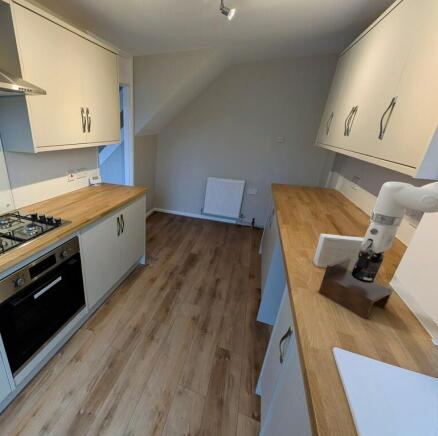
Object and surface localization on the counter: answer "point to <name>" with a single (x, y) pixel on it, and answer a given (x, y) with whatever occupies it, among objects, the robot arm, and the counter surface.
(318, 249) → the skincare box
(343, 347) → the counter surface
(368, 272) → the supplement container
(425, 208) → the robot arm
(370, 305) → the shelf
